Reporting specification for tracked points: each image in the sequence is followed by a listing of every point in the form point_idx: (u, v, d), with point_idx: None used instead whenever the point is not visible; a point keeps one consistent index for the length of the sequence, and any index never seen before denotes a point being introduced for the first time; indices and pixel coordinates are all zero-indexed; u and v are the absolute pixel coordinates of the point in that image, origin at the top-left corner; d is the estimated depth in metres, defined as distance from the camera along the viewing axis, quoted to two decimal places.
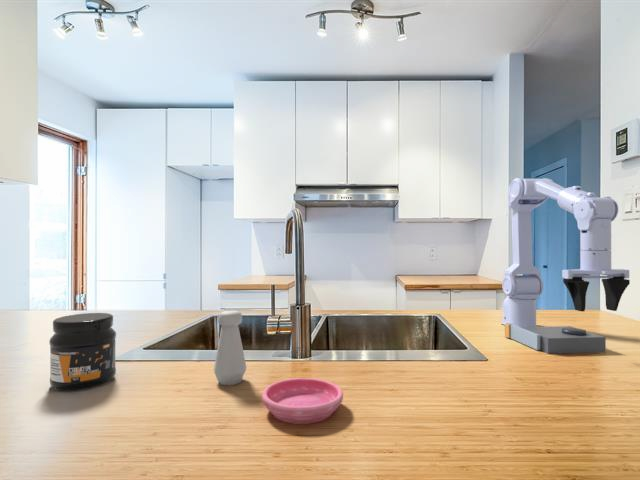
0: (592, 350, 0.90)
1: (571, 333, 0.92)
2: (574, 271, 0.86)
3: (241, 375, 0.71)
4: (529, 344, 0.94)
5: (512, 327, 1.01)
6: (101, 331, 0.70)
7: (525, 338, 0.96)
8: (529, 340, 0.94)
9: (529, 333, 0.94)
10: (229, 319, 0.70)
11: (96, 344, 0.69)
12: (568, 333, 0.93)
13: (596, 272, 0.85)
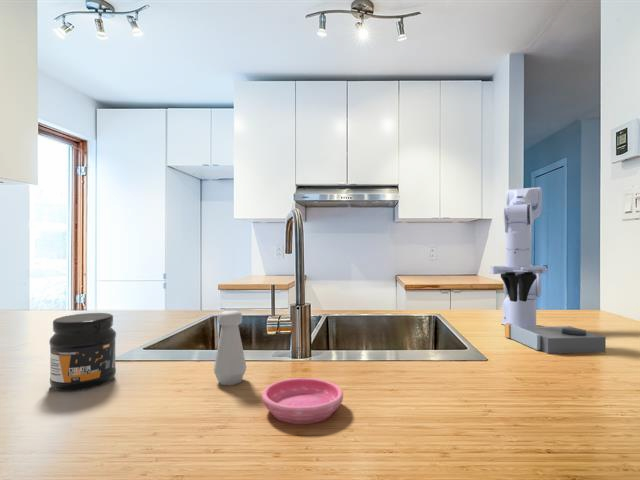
0: (592, 350, 0.90)
1: (571, 333, 0.92)
2: (498, 267, 1.01)
3: (241, 375, 0.71)
4: (529, 344, 0.94)
5: (512, 327, 1.01)
6: (101, 331, 0.70)
7: (525, 338, 0.96)
8: (529, 340, 0.94)
9: (529, 333, 0.94)
10: (229, 319, 0.70)
11: (96, 344, 0.69)
12: (568, 333, 0.93)
13: (516, 268, 1.00)
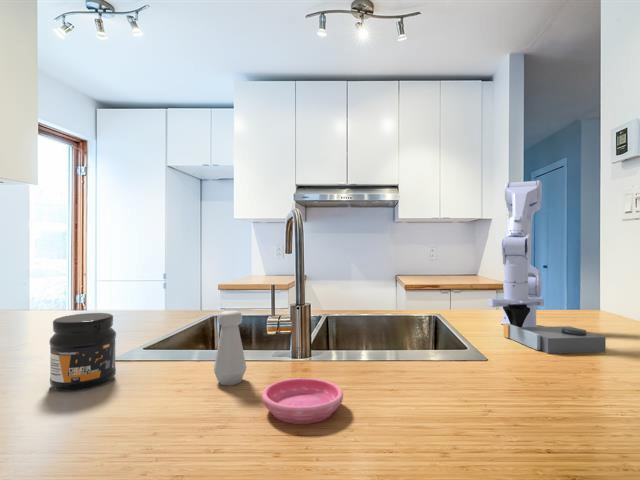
0: (592, 350, 0.90)
1: (571, 333, 0.92)
2: (497, 300, 1.01)
3: (241, 375, 0.71)
4: (529, 344, 0.94)
5: (511, 327, 1.01)
6: (101, 331, 0.70)
7: (525, 338, 0.96)
8: (529, 340, 0.94)
9: (529, 334, 0.94)
10: (229, 319, 0.70)
11: (96, 344, 0.69)
12: (568, 333, 0.93)
13: (515, 301, 1.00)
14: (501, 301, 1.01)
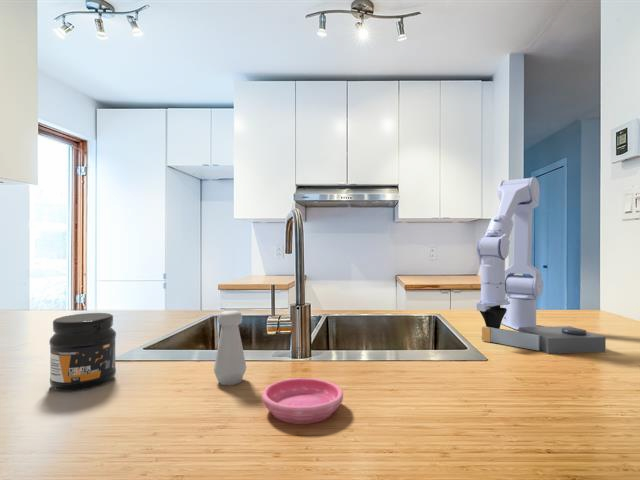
0: (592, 350, 0.90)
1: (571, 333, 0.92)
2: (487, 304, 0.95)
3: (241, 375, 0.71)
4: (525, 346, 0.93)
5: (494, 330, 0.98)
6: (101, 331, 0.70)
7: (518, 340, 0.94)
8: (525, 341, 0.93)
9: (525, 335, 0.93)
10: (229, 319, 0.70)
11: (96, 344, 0.69)
12: (568, 333, 0.93)
13: (499, 303, 0.97)
14: (489, 304, 0.96)
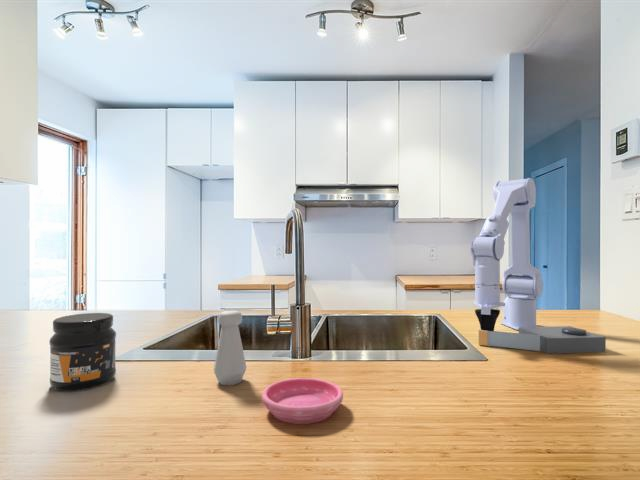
0: (592, 350, 0.90)
1: (571, 333, 0.92)
2: (491, 306, 0.91)
3: (241, 375, 0.71)
4: (525, 347, 0.92)
5: (492, 333, 0.95)
6: (101, 331, 0.70)
7: (518, 342, 0.92)
8: (525, 343, 0.92)
9: (525, 336, 0.92)
10: (229, 319, 0.70)
11: (96, 344, 0.69)
12: (568, 333, 0.93)
13: (498, 305, 0.94)
14: (492, 307, 0.92)
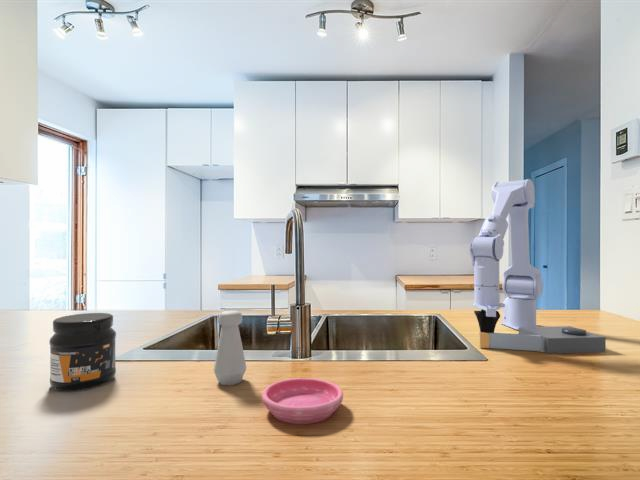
0: (592, 350, 0.90)
1: (571, 333, 0.92)
2: (495, 308, 0.89)
3: (241, 375, 0.71)
4: (526, 348, 0.91)
5: (493, 335, 0.93)
6: (101, 331, 0.70)
7: (519, 343, 0.92)
8: (527, 343, 0.91)
9: (526, 337, 0.91)
10: (229, 319, 0.70)
11: (96, 344, 0.69)
12: (568, 333, 0.93)
13: (499, 306, 0.93)
14: (496, 308, 0.90)
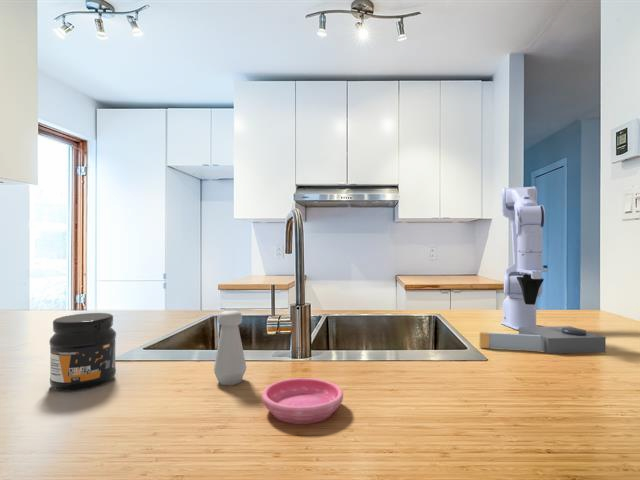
0: (592, 350, 0.90)
1: (571, 333, 0.92)
2: None
3: (241, 375, 0.71)
4: (526, 348, 0.91)
5: (493, 335, 0.93)
6: (101, 331, 0.70)
7: (519, 343, 0.92)
8: (527, 343, 0.91)
9: (526, 337, 0.91)
10: (229, 319, 0.70)
11: (96, 344, 0.69)
12: (568, 333, 0.93)
13: (542, 271, 0.99)
14: (540, 272, 0.96)
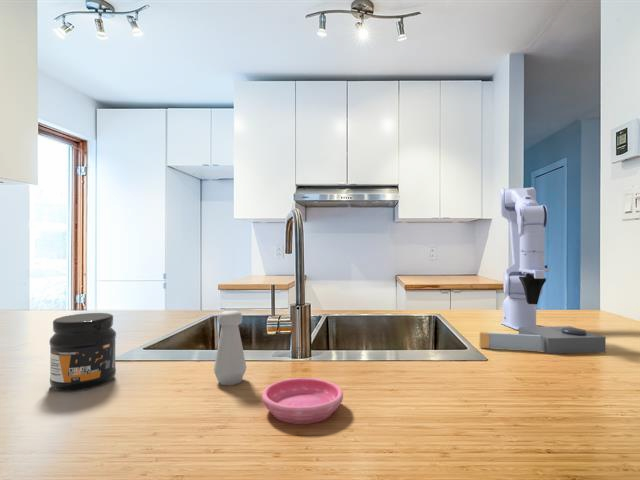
0: (592, 350, 0.90)
1: (571, 333, 0.92)
2: (543, 271, 0.95)
3: (241, 375, 0.71)
4: (526, 348, 0.91)
5: (493, 335, 0.93)
6: (101, 331, 0.70)
7: (519, 343, 0.92)
8: (527, 343, 0.91)
9: (526, 337, 0.91)
10: (229, 319, 0.70)
11: (96, 344, 0.69)
12: (568, 333, 0.93)
13: (545, 270, 0.99)
14: (543, 271, 0.96)
